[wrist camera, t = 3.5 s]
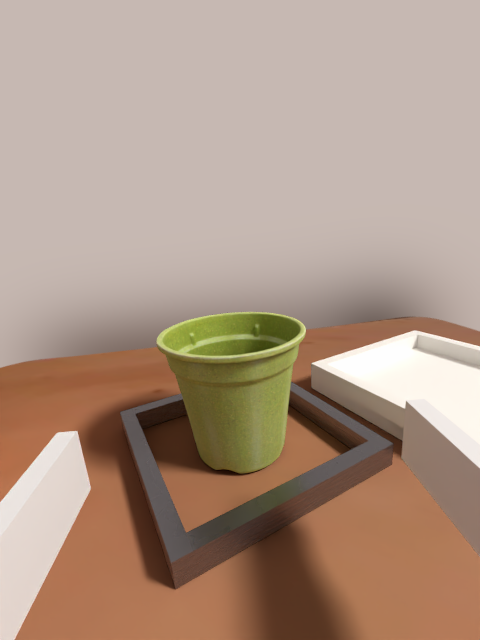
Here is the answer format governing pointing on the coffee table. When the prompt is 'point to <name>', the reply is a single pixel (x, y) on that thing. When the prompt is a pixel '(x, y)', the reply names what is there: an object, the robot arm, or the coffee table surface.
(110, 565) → the coffee table surface
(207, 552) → the grey square frame
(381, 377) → the tray
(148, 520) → the coffee table surface
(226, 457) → the plant pot
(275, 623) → the coffee table surface
